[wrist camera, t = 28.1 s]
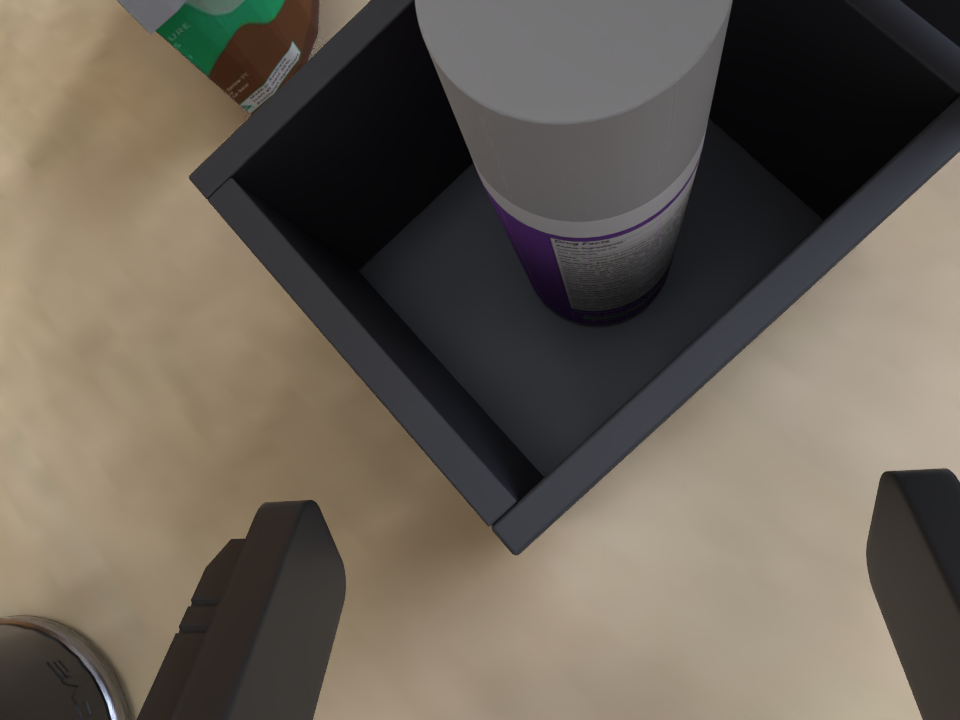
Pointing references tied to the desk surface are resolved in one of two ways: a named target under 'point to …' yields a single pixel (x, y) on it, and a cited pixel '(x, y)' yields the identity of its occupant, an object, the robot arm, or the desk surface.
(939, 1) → the lid
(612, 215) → the container
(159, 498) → the desk surface
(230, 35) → the food container
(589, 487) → the dark grey open box
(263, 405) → the desk surface
